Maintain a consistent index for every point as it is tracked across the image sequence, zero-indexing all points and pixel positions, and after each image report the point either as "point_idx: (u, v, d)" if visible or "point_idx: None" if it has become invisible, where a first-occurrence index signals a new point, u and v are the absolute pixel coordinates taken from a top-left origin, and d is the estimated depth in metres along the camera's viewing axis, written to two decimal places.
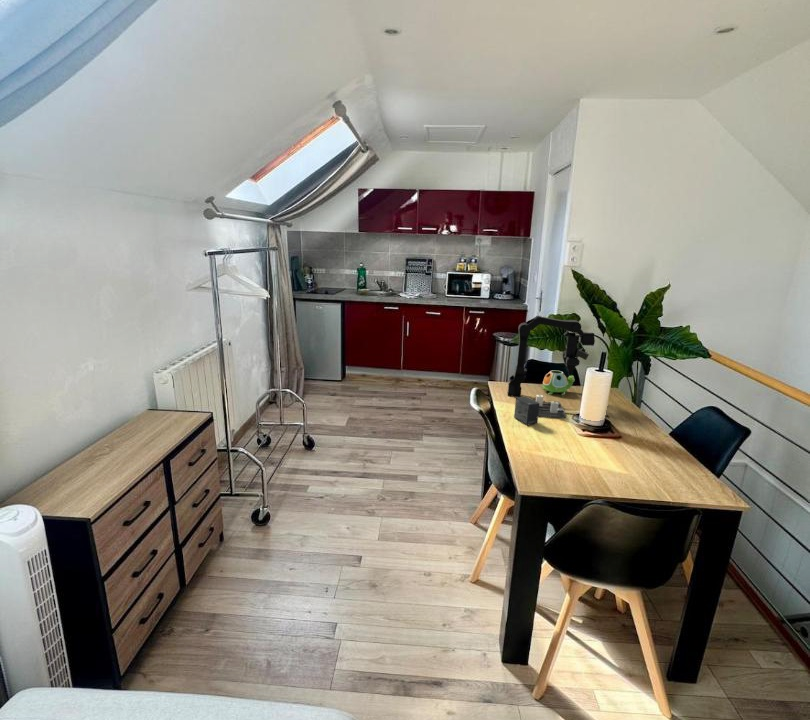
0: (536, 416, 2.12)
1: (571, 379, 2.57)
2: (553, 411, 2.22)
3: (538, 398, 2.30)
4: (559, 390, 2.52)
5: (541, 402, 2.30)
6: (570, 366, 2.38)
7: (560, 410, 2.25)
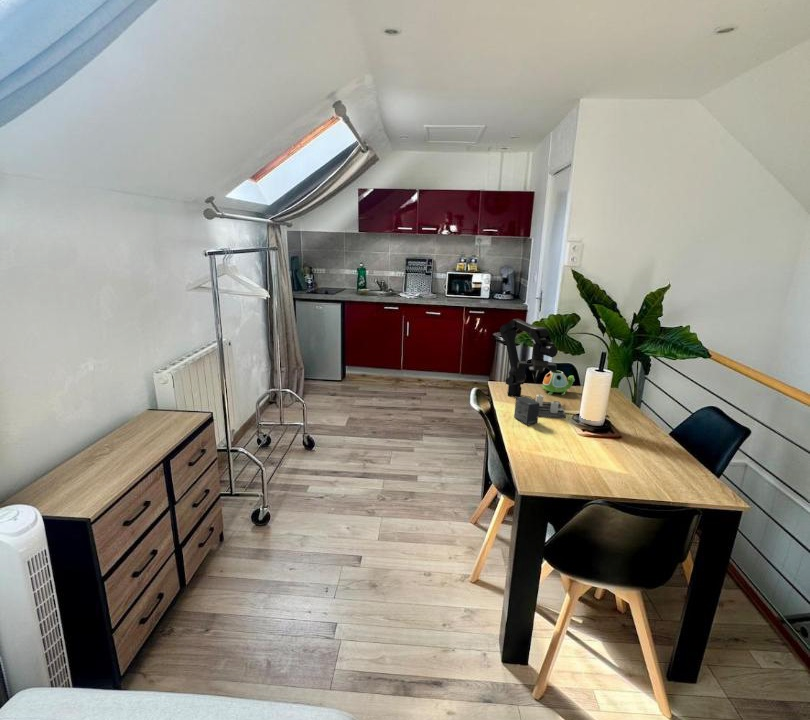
0: (536, 416, 2.12)
1: (571, 379, 2.57)
2: (553, 411, 2.22)
3: (538, 398, 2.30)
4: (559, 390, 2.52)
5: (541, 402, 2.30)
6: None
7: (560, 410, 2.25)
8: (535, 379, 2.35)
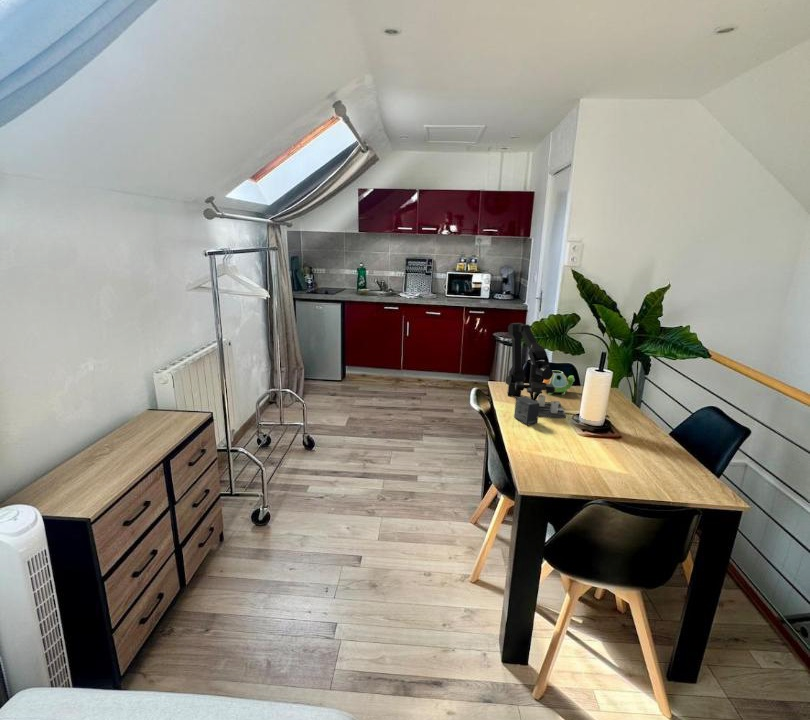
0: (536, 416, 2.12)
1: (571, 379, 2.57)
2: (553, 411, 2.22)
3: (540, 398, 2.30)
4: (559, 390, 2.52)
5: (543, 402, 2.30)
6: None
7: (560, 410, 2.25)
8: None
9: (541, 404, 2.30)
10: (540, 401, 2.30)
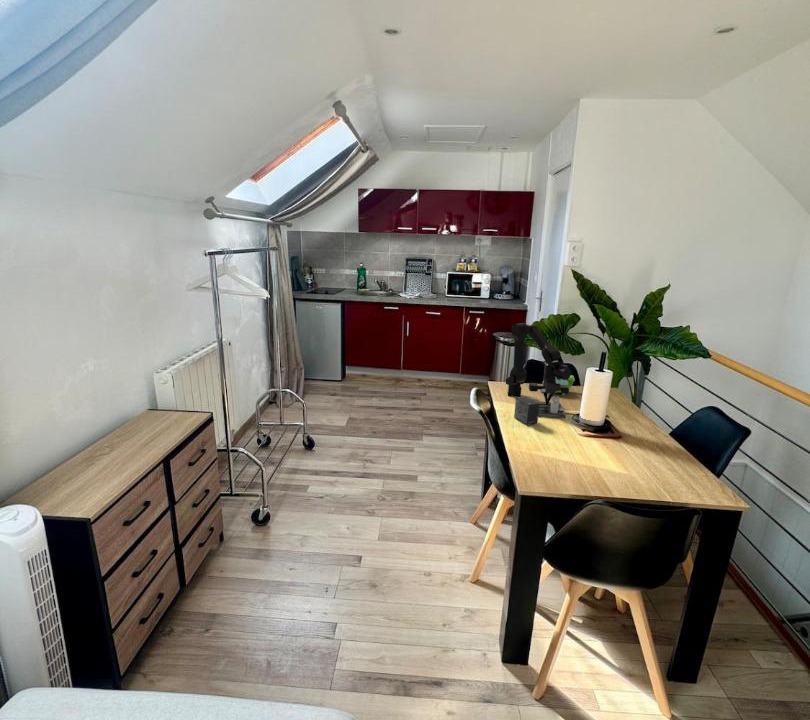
0: (536, 416, 2.12)
1: (571, 379, 2.57)
2: (553, 411, 2.22)
3: (554, 399, 2.29)
4: None
5: None
6: None
7: (560, 410, 2.25)
8: (547, 401, 2.30)
9: None
10: None
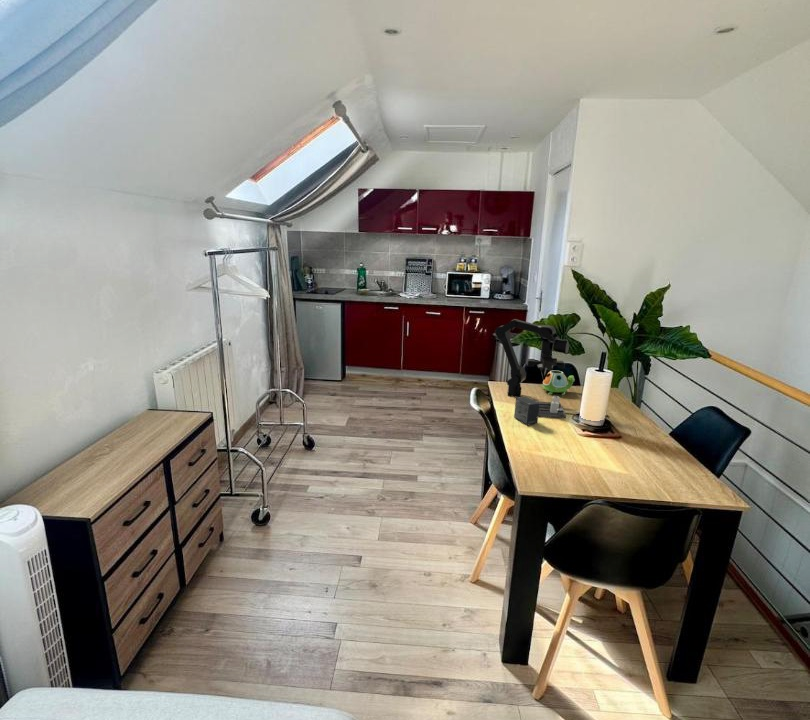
0: (536, 416, 2.12)
1: (571, 379, 2.57)
2: (553, 411, 2.22)
3: (554, 399, 2.29)
4: (559, 390, 2.52)
5: None
6: None
7: (560, 410, 2.25)
8: (544, 376, 2.39)
9: None
10: None
